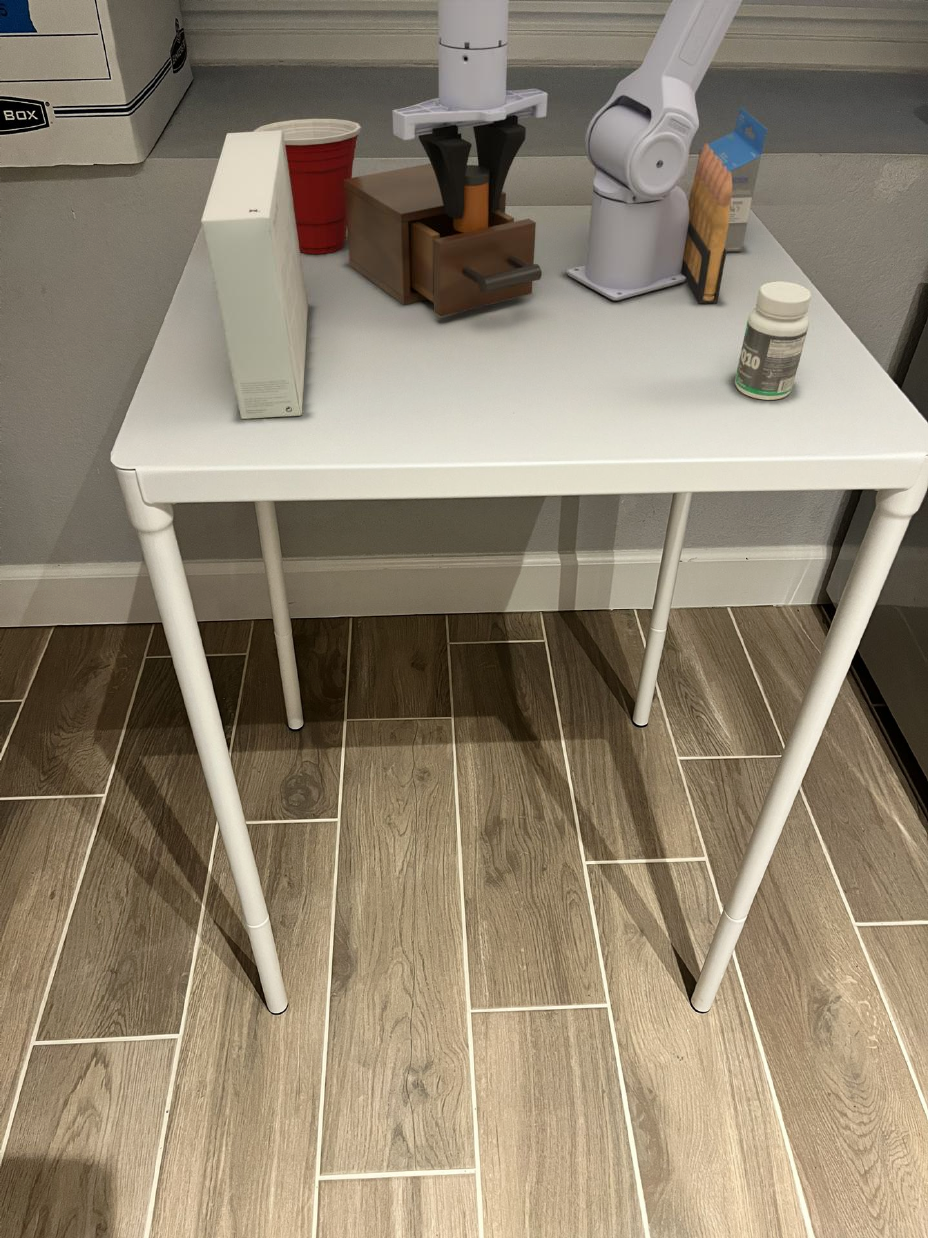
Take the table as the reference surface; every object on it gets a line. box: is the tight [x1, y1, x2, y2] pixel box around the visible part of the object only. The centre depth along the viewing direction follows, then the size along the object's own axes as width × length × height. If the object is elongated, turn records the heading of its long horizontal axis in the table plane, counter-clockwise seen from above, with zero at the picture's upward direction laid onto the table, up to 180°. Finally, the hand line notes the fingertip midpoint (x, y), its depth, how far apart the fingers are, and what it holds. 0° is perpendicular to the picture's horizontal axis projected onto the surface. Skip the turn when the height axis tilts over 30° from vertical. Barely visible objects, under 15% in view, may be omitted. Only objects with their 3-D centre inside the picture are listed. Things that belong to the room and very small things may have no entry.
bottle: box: [453, 164, 490, 233], centre depth 87 cm, size 3×3×5 cm
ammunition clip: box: [681, 142, 732, 304], centre depth 94 cm, size 11×2×12 cm, turn 3°
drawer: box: [408, 209, 543, 318], centre depth 91 cm, size 15×10×7 cm
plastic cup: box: [253, 118, 362, 255], centre depth 101 cm, size 11×11×12 cm
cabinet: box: [344, 163, 507, 306], centre depth 96 cm, size 12×12×9 cm
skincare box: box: [200, 130, 309, 420], centre depth 79 cm, size 21×6×16 cm, turn 5°
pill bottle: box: [734, 281, 812, 401], centre depth 79 cm, size 5×5×8 cm
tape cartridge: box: [697, 106, 769, 254], centre depth 103 cm, size 9×4×12 cm, turn 6°
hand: (470, 212), depth 88 cm, fingers closed on bottle, 3 cm apart
